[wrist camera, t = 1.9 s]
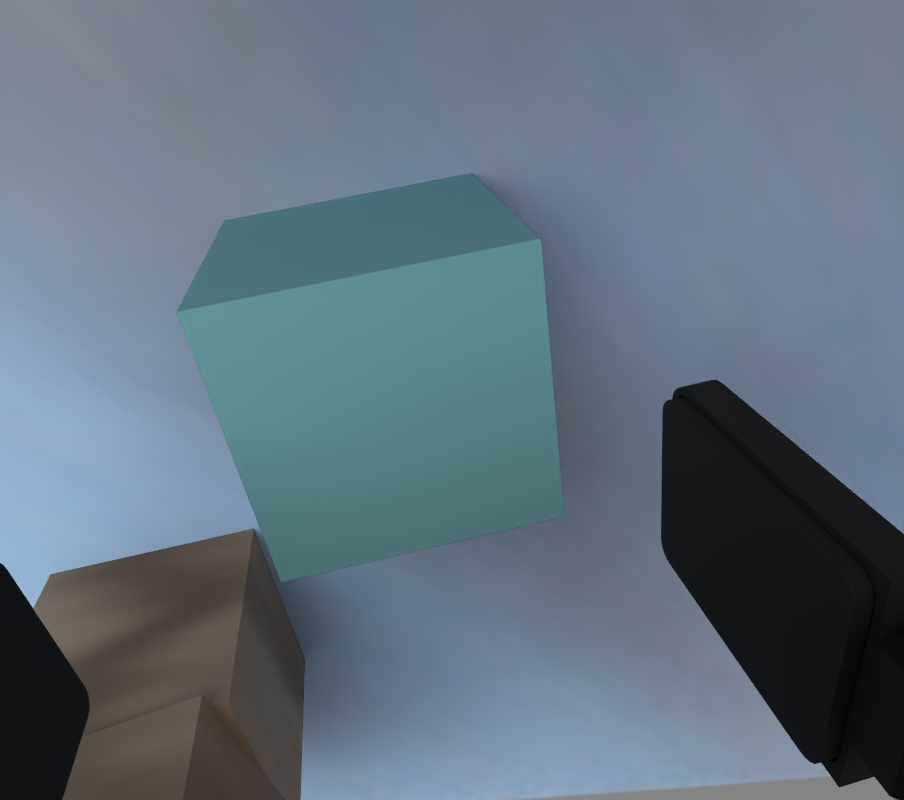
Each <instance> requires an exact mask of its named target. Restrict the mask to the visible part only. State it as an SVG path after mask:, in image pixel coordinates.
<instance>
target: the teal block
mask: <svg viewBox="0 0 904 800" xmlns="http://www.w3.org/2000/svg"><path fill="white" fill-rule="evenodd" d="M177 315H178V317H179V320H180V322H181V325H182V328H183V330H184V333H185V335H186V338H187V341H188V343H189V346H190V348H191V351H192V353H193V356H194V359H195V361H196V364H197V366H198V369H199V372H200V374H201V377H202V379H203V382H204V384H205V387H206V390H207V392H208V395H209V397H210V400H211V403H212V405H213V408H214V410H215V413H216V416H217V418H218V421H219V423H220V426H221V428H222V431H223V434H224V436H225V439H226V441H227V444H228V447H229V449H230V452H231V454H232V457H233V459H234V462H235V465H236V467H237V470H238V472H239V475H240V478H241V480H242V483H243V485H244V488H245V490H246V493H247V496H248V498H249V501H250V503H251V506H252V509H253V511H254V514H255V516H256V519H257V522H258V524H259V527H260V529H261V532H262V534H263V537H264V540H265V542H266V545H267V547H268V550H269V553H270V555H271V558H272V560H273V563H274V565H275V568H276V571H277V573H278V576H279V578H280V581H281V582H286V581H290V580H294V579H298V578H303V577H307V576H311V575H316V574H320V573H324V572H328V571H333V570H337V569H341V568H346V567H350V566H354V565H359V564H363V563H367V562H371V561H376V560H380V559H384V558H389V557H393V556H397V555H401V554H406V553H410V552H414V551H419V550H423V549H427V548H432V547H436V546H440V545H444V544H449V543H453V542H457V541H462V540H466V539H470V538H474V537H479V536H483V535H487V534H492V533H496V532H500V531H504V530H509V529H513V528H517V527H522V526H526V525H530V524H535V523H539V522H543V521H547V520H552V519H556V518H560V517H564V506H563V494H562V482H561V470H560V458H559V446H558V435H557V423H556V411H555V399H554V387H553V375H552V363H551V352H550V340H549V328H548V316H547V304H546V292H545V280H544V269H543V257H542V245H541V238H540V237H539V236H538V235H537V234H536V233H535V232H534V231H533V230H531V229H530V228H529V227H528V226H527V225H526V224H525V223H524V222H523V221H522V220H521V219H520V218H519V217H518V216H517V215H516V214H515V213H514V212H512V211H511V210H510V209H509V208H508V207H507V206H506V205H505V204H504V203H503V202H502V201H501V200H500V199H499V198H498V197H497V196H496V195H495V194H493V193H492V192H491V191H490V190H489V189H488V188H487V187H486V186H485V185H484V184H483V183H482V182H481V181H480V180H479V179H478V178H477V177H476V176H475V175H473V174H472V173H470V174H465V175H460V176H455V177H450V178H444V179H439V180H434V181H429V182H424V183H418V184H413V185H408V186H403V187H398V188H392V189H387V190H382V191H377V192H372V193H366V194H361V195H356V196H351V197H346V198H340V199H335V200H330V201H325V202H320V203H314V204H309V205H304V206H299V207H294V208H288V209H283V210H278V211H273V212H268V213H263V214H257V215H252V216H247V217H242V218H237V219H231V220H226V221H224V222H223V224H222V226H221V228H220V230H219V232H218V234H217V236H216V238H215V240H214V241H213V243H212V245H211V247H210V249H209V251H208V253H207V255H206V257H205V259H204V261H203V262H202V264H201V266H200V268H199V270H198V272H197V274H196V276H195V278H194V280H193V281H192V283H191V285H190V287H189V289H188V291H187V293H186V295H185V297H184V299H183V300H182V302H181V304H180V306H179V308H178V310H177Z"/></svg>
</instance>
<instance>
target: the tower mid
mask: <svg viewBox="0 0 904 800" xmlns="http://www.w3.org/2000/svg"><path fill="white" fill-rule="evenodd" d="M62 800H285V798H284V797H283V796H282V795H281V793H280V792H279V791H278V790H277V788H276V787H275V786H274V785H273V783H272V782H271V781H270V780H269V778H268V777H267V776H266V775H265V773H264V772H263V771H262V770H261V768H260V767H259V766H258V765H257V763H256V762H255V761H254V760H253V758H252V757H251V756H250V755H249V753H248V752H247V751H246V750H245V748H244V747H243V746H242V745H241V743H240V742H239V741H238V740H237V738H236V737H235V736H234V735H233V733H232V732H231V731H230V730H229V728H228V727H227V726H226V725H225V723H224V722H223V721H222V720H221V718H220V717H219V716H218V715H217V713H216V712H215V711H214V710H213V708H212V707H211V706H210V705H209V703H208V702H207V701H206V700H205V698H204V697H203V696H202V695H201V696H198V697H196V698H193V699H190V700H187V701H184V702H181V703H178V704H175V705H172V706H170V707H167V708H164V709H161V710H158V711H155V712H152V713H149V714H146V715H144V716H141V717H138V718H135V719H132V720H129V721H126V722H123V723H121V724H118V725H115V726H112V727H109V728H106V729H103V730H100V731H97V732H95V733H92V734H89V735H86V736H83V737H82V738H81V742H80V745H79V748H78V751H77V754H76V758H75V761H74V764H73V767H72V770H71V774H70V777H69V780H68V783H67V786H66V790H65V793H64V796H63V799H62Z"/></svg>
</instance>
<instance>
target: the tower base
mask: <svg viewBox="0 0 904 800" xmlns="http://www.w3.org/2000/svg"><path fill="white" fill-rule="evenodd" d="M33 609H34V611H35V612H36V614H37V615H38V617H39V618H40V620H41V621H42V623H43V624H44V626H45V627H46V629H47V630H48V632H49V633H50V635H51V636H52V638H53V639H54V641H55V642H56V644H57V645H58V647H59V648H60V650H61V651H62V653H63V654H64V656H65V657H66V659H67V660H68V662H69V663H70V665H71V666H72V668H73V669H74V671H75V672H76V674H77V675H78V677H79V678H80V680H81V681H82V683H83V684H84V686H85V688H86V690H87V692H88V695H89V702H90V709H89V715H88V719H87V722H86V726H85V729H84V732H83V735H82V737H83V736H86V735H89V734H92V733H95V732H97V731H100V730H103V729H106V728H109V727H112V726H115V725H118V724H121V723H123V722H126V721H129V720H132V719H135V718H138V717H141V716H144V715H146V714H149V713H152V712H155V711H158V710H161V709H164V708H167V707H170V706H172V705H175V704H178V703H181V702H184V701H187V700H190V699H193V698H196V697H198V696H201V695H202V696H203V697H204V698H205V700H206V701H207V702H208V703H209V705H210V706H211V707H212V708H213V710H214V711H215V712H216V713H217V715H218V716H219V717H220V718H221V720H222V721H223V722H224V723H225V725H226V726H227V727H228V728H229V730H230V731H231V732H232V733H233V735H234V736H235V737H236V738H237V740H238V741H239V742H240V743H241V745H242V746H243V747H244V748H245V750H246V751H247V752H248V753H249V755H250V756H251V757H252V758H253V760H254V761H255V762H256V763H257V765H258V766H259V767H260V768H261V770H262V771H263V772H264V773H265V775H266V776H267V777H268V778H269V780H270V781H271V782H272V783H273V785H274V786H275V787H276V788H277V790H278V791H279V792H280V793H281V795H282V796H283V797H284V798H285V800H300V795H301V764H302V733H303V702H304V671H305V659H304V657H303V654H302V651H301V649H300V646H299V644H298V641H297V639H296V636H295V634H294V631H293V628H292V626H291V623H290V621H289V618H288V616H287V613H286V611H285V608H284V606H283V603H282V600H281V598H280V595H279V593H278V590H277V588H276V585H275V583H274V580H273V578H272V575H271V572H270V570H269V567H268V565H267V562H266V560H265V557H264V555H263V552H262V549H261V547H260V544H259V542H258V539H257V537H256V534H255V532H254V529H251V530H246V531H242V532H237V533H233V534H228V535H224V536H219V537H215V538H210V539H206V540H202V541H197V542H193V543H188V544H184V545H179V546H175V547H170V548H166V549H162V550H157V551H153V552H148V553H144V554H139V555H135V556H130V557H126V558H121V559H117V560H113V561H108V562H104V563H99V564H95V565H90V566H86V567H81V568H77V569H72V570H68V571H64V572H59V573H55V574H51V575H50V577H49V579H48V581H47V583H46V585H45V587H44V589H43V591H42V593H41V595H40V597H39V599H38V600H37V602H36V604H35V606H34V608H33Z"/></svg>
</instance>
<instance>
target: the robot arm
mask: <svg viewBox="0 0 904 800" xmlns="http://www.w3.org/2000/svg"><path fill="white" fill-rule="evenodd" d="M661 542H662V547H663V550H664V553H665V556H666V558H667V560H668V562H669V563H670V565H671V566H672V568H673V569H674V571H675V572H676V573H677V575H678V576H679V578H680V579H681V581H682V582H683V583H684V585H685V586H686V588H687V589H688V591H689V592H690V594H691V595H692V596H693V598H694V599H695V601H696V602H697V604H698V605H699V607H700V608H701V609H702V611H703V612H704V614H705V615H706V617H707V618H708V619H709V621H710V622H711V624H712V625H713V627H714V628H715V630H716V631H717V632H718V634H719V635H720V637H721V638H722V640H723V641H724V643H725V644H726V645H727V647H728V648H729V650H730V651H731V653H732V654H733V655H734V657H735V658H736V660H737V661H738V663H739V664H740V666H741V667H742V668H743V670H744V671H745V673H746V674H747V676H748V677H749V679H750V680H751V681H752V683H753V684H754V686H755V687H756V689H757V690H758V691H759V693H760V694H761V696H762V697H763V699H764V700H765V702H766V703H767V704H768V706H769V707H770V709H771V710H772V712H773V713H774V715H775V716H776V717H777V719H778V720H779V722H780V723H781V725H782V726H783V727H784V729H785V730H786V732H787V733H788V735H789V736H790V738H791V739H792V740H793V742H794V743H795V745H796V746H797V748H798V749H799V751H800V752H801V753H802V754H803V756H804V757H805V758H806V759H807V760H809V761H810V762H811V763H814V764H817V763H820V762H821V763H822V764H823V765H824V767H825V768H826V770H827V771H828V772H829V774H830V775H831V777H832V778H833V779H834V781H835V782H836V784H837V785H838V786H839V787H842V786H845V785H848V784H852V783H855V782H858V781H861V780H865V779H868V778H871V777H875V778H876V779H877V780H878V782H879V783H880V784H881V785H882V787H883V788H884V789H885V791H886V792H887V793H888V795H889V796H891V797H893V798H894V800H904V534H903V533H902V532H900V531H899V530H898V529H897V528H896V527H894V526H893V525H892V524H891V523H890V522H888V521H887V520H886V519H885V518H884V517H882V516H881V515H880V514H879V513H878V512H876V511H875V510H874V509H873V508H872V507H870V506H869V505H868V504H867V503H866V502H864V501H863V500H862V499H861V498H860V497H858V496H857V495H856V494H855V493H853V492H852V491H851V490H850V489H849V488H847V487H846V486H845V485H844V484H843V483H841V482H840V481H839V480H838V479H837V478H835V477H834V476H833V475H832V474H831V473H829V472H828V471H827V470H826V469H825V468H823V467H822V466H821V465H820V464H819V463H817V462H816V461H815V460H814V459H813V458H811V457H810V456H809V455H808V454H807V453H805V452H804V451H803V450H802V449H801V448H799V447H798V446H797V445H796V444H795V443H793V442H792V441H791V440H790V439H789V438H787V437H786V436H785V435H784V434H783V433H781V432H780V431H779V430H778V429H777V428H775V427H774V426H773V425H772V424H771V423H769V422H768V421H767V420H766V419H764V418H763V417H762V416H761V415H760V414H758V413H757V412H756V411H755V410H754V409H752V408H751V407H750V406H749V405H748V404H746V403H745V402H744V401H743V400H742V399H740V398H739V397H738V396H737V395H736V394H734V393H733V392H732V391H731V390H730V389H728V388H727V387H726V386H725V385H724V384H722V383H721V382H719V381H718V380H710V381H705V382H701V383H697V384H693V385H689V386H684V387H680V388H677V389H676V390H675V391H674V394H673V397H672V400H668V401H666V402H665V403H664V406H663V431H662V510H661ZM89 709H90V702H89V695H88V692H87V690H86V688H85V686H84V684H83V683H82V681H81V680H80V678H79V677H78V675H77V674H76V672H75V671H74V669H73V668H72V666H71V665H70V663H69V662H68V660H67V659H66V657H65V656H64V654H63V653H62V651H61V650H60V648H59V647H58V645H57V644H56V642H55V641H54V639H53V638H52V636H51V635H50V633H49V632H48V630H47V629H46V627H45V626H44V624H43V623H42V621H41V620H40V618H39V617H38V615H37V614H36V612H35V611H34V609H33V608H32V606H31V605H30V603H29V602H28V600H27V599H26V597H25V596H24V594H23V593H22V591H21V590H20V588H19V587H18V585H17V584H16V582H15V581H14V579H13V578H12V576H11V575H10V573H9V572H8V570H7V569H6V568H5V567H4V565H3V564H1V563H0V800H62V799H63V796H64V793H65V790H66V786H67V783H68V780H69V777H70V774H71V770H72V767H73V764H74V761H75V758H76V754H77V751H78V748H79V745H80V742H81V738H82V735H83V732H84V729H85V726H86V722H87V719H88V715H89Z"/></svg>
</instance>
